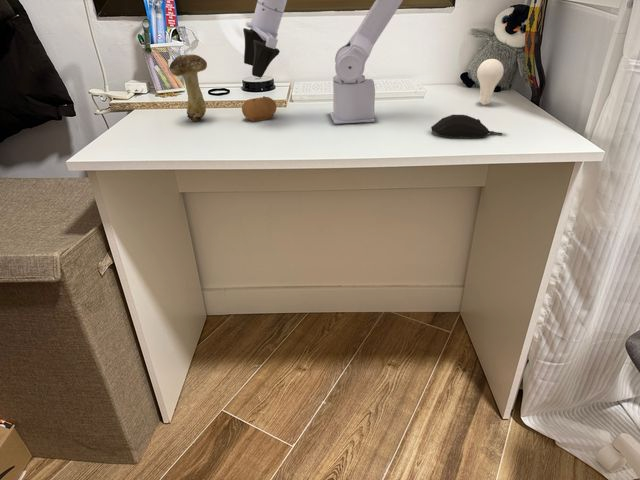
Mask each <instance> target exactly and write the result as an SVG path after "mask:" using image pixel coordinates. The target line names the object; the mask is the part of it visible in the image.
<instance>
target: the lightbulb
mask: <svg viewBox="0 0 640 480" xmlns="http://www.w3.org/2000/svg"><path fill="white" fill-rule="evenodd" d="M504 70H505V69H504V65H503V63H502V62H501V61H500V60H498V59H496V58H488V59H485V60H484V61H482V62H481V63H480V65H479V66H478V67H477V71H476V72H477V73H476V77H477V80H478V83H479V103H481V105H483V106H486V105H488V104H490V103H491V100H492V96H493V95H494V91H495V88H496V87H497V85H498V83H499V82H500V81H501V79H502V78H503V76H504V72H505V71H504Z"/></svg>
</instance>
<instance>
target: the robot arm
mask: <svg viewBox="0 0 640 480" xmlns="http://www.w3.org/2000/svg"><path fill="white" fill-rule="evenodd" d="M403 1H404V0H375V1H374V2H373V4H372V5H371V6H370V8H369V10H368V12H367V13H366V15H365V16H364V18H363V20H362V21H361V23H360V24H359V26H358V27H357V30H356V31H355V32H354V34H352V36H351V37H350V38H349V40H348V41H347V43H346V44H344V45H342V46H341V47H340V48H339V49H338V50H337V51H336V53H335V58H334V64H335V65H334V69H335V73H336V75H334V76H333V78H332V79H333V81H332V82H333V83H332V84H333V85H332V86H333V87H332V88H333V89H332V94H333V97H332V98H333V99H332V100H333V101H332V102H333V106H332V107H333V108H332V109H333V110H332V111H330V112H329V116H330V117H331V119H332V120H331V121H332V122H333V124H334V125H341V124H355V123H356V124H357V123H373V122H375V105H376V104H375V101H376V87H375V81H374V79H372V78H366V77H365V75H364V72H365V65H366V62H367V60H368V59H369V57H370V55H371V53H372V51H373V49H374V46H375V44H376V43H377V41H378V39H379V38H380V36H382V33H384V30H385V29H386V27H387V26H388V24H389V23H390V22H391V19H392V18H393V17H394V15H395V14H396V12H397V10H398V9H399V7H400V6H401V4H402V2H403ZM287 2H288V0H257V2H256V6H255V10H254V13H253V16H252V18H251V20H250V22H249V21H245V26H246V27H247V28H246V27H243V29H242V31H243V37H244V54H243V63H244V65H249V66H251V67H252V68H251V76H253V77H256V78H263V76H264V75H265V72H266V71H267V69H268V67H269V65H270V64H271V63H272V61H273V60H275V58H276V57H278V55H279V54H280V52H281V51H280V49H279V48H277V45H278V42H279V39H278V36H279V33H278V32H279V29H280V25H281V21H282V19H283V15H284V12H285V9H286V5H287Z"/></svg>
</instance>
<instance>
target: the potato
mask: <svg viewBox="0 0 640 480" xmlns="http://www.w3.org/2000/svg"><path fill="white" fill-rule="evenodd" d="M276 111H277V104H276V102H275V100H274V99H272V98H271V97H269V96H262V97H254V98H250V99H246V100H244V102H243V103H242V105H241V113H242V115H243V117H245V119H247V120H250V121H251V122H257V121H258V122H259V121H265V120H270V119H272V117H273V116H274V115H275V113H276Z"/></svg>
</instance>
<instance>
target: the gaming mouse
mask: <svg viewBox="0 0 640 480" xmlns="http://www.w3.org/2000/svg"><path fill="white" fill-rule="evenodd" d="M430 128H431V132H432V133H434V134H436V135H438V136H440V137H443V138H450V139H451V138H452V139H453V138H457V139H458V138H459V139H462V138H463V139H464V138H465V139H470V138H471V139H479V138H484V137H486V136H487V135H488V134H490V135H500V136H502V135H503V132H497V131H494V130H489V128H488V127H487V126H486V125H484V124H483V122H481V120H480V118H475V117H473V116H470V115H467V114H451V115H447V116H444V117H442V118H441V119H439V120H438V121H437V122H436V123H434V124H433V125H432V126H431V127H430Z"/></svg>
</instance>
